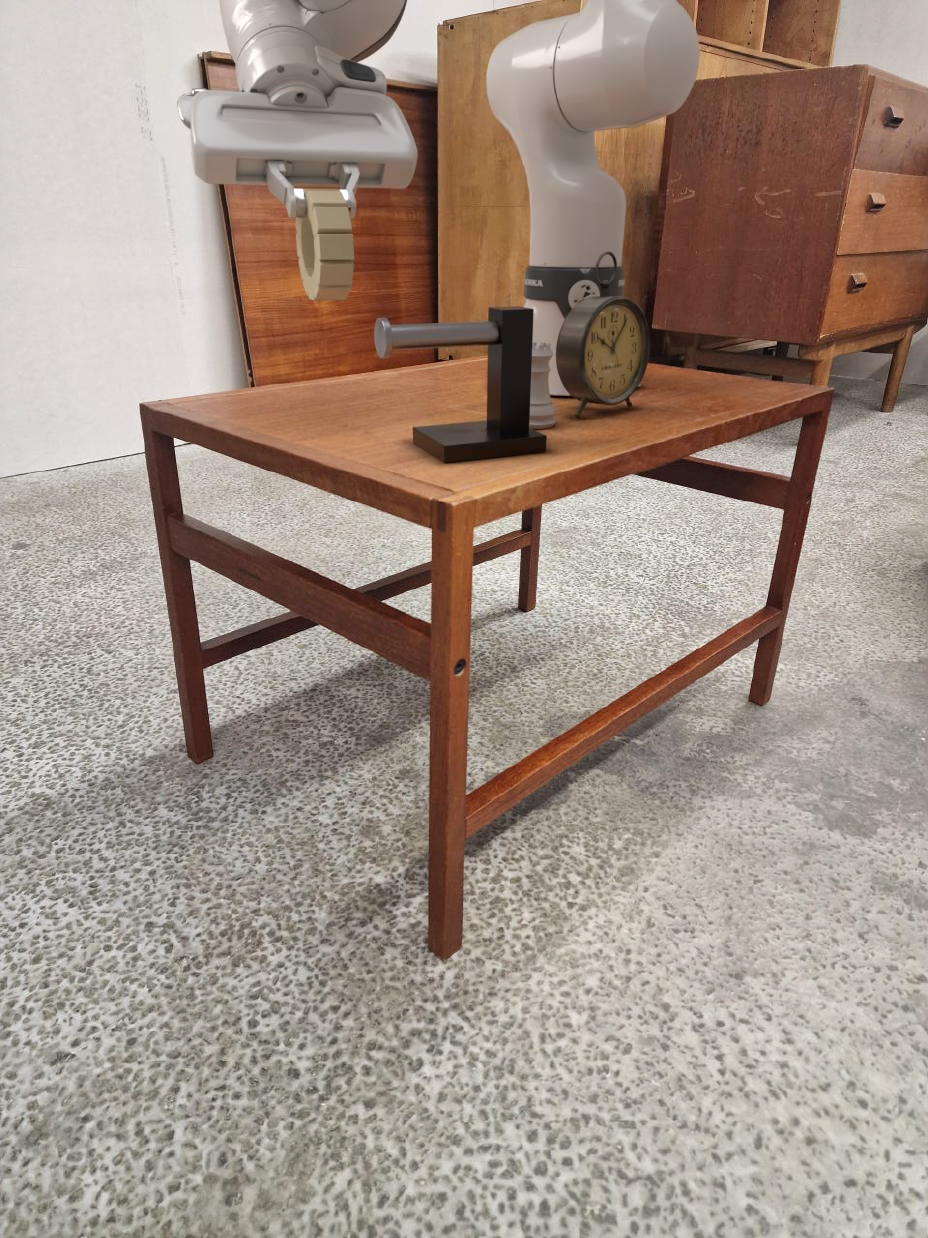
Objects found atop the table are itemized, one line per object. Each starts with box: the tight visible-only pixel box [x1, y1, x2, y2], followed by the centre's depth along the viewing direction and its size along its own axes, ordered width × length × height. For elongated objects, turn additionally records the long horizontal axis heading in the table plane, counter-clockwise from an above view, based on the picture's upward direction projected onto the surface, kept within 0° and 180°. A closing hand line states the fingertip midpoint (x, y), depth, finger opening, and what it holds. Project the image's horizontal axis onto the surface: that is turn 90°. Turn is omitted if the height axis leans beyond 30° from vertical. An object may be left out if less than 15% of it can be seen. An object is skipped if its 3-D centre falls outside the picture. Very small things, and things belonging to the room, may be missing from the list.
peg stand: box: [373, 305, 548, 464], centre depth 71 cm, size 14×8×12 cm, turn 113°
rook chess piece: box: [529, 342, 557, 430], centre depth 81 cm, size 4×4×8 cm
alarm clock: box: [556, 251, 651, 419], centre depth 85 cm, size 11×5×16 cm, turn 129°
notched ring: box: [295, 188, 355, 302], centre depth 72 cm, size 9×3×9 cm, turn 23°
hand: (323, 212), depth 71 cm, fingers closed on notched ring, 3 cm apart
